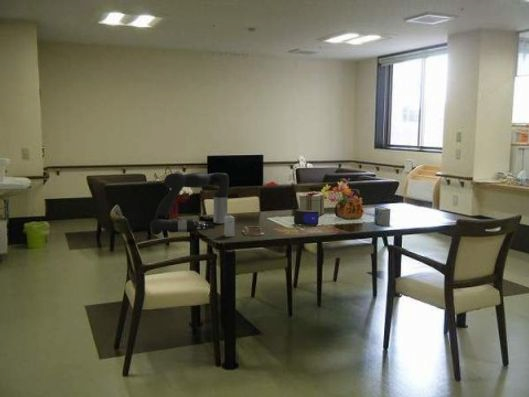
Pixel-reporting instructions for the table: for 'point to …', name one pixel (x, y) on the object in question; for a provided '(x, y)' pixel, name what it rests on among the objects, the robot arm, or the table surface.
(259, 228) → the chassis board
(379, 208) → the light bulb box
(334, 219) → the table surface
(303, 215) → the black and blue box
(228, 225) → the servo block
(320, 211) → the gift box
